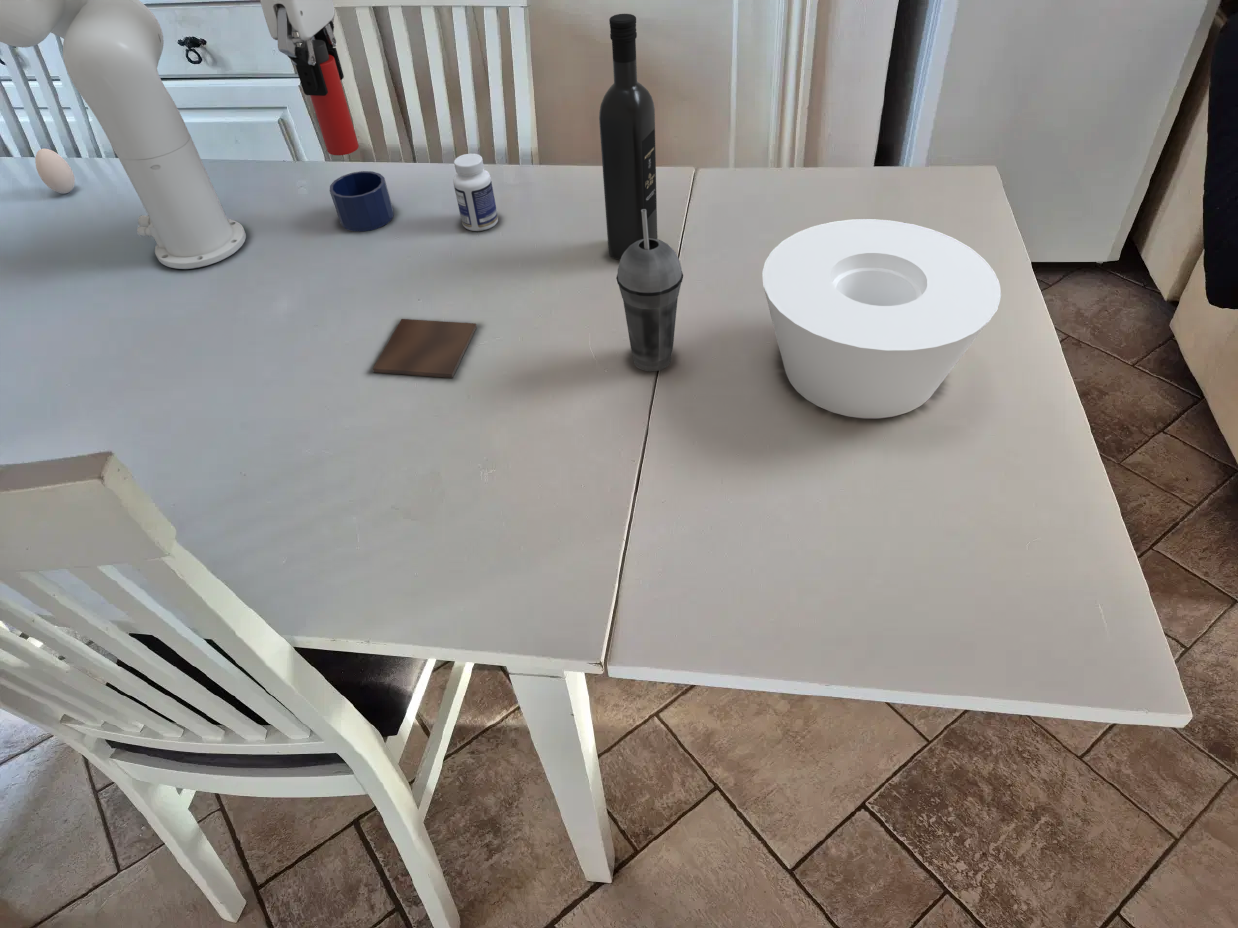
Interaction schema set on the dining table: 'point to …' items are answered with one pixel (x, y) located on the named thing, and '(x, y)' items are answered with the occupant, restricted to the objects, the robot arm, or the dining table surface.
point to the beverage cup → (650, 299)
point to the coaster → (425, 348)
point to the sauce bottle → (333, 106)
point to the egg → (54, 171)
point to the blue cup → (362, 201)
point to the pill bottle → (474, 193)
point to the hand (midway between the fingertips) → (324, 85)
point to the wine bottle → (627, 145)
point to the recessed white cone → (875, 312)
